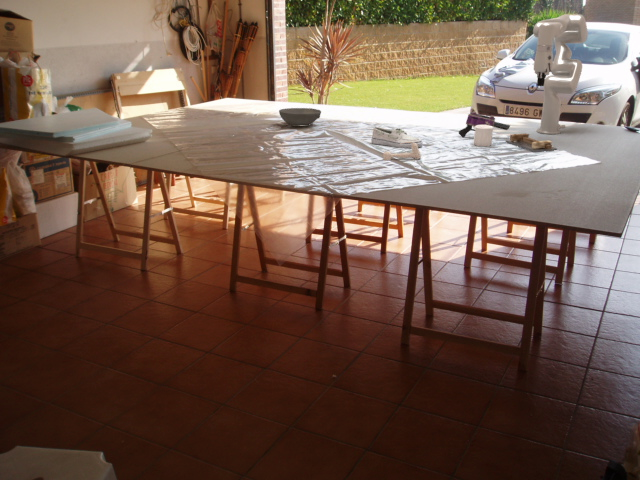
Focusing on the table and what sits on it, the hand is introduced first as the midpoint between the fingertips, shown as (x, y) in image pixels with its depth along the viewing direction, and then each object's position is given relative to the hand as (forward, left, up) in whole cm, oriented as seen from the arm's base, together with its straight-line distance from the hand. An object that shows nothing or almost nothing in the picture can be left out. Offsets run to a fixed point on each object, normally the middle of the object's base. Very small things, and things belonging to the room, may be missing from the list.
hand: (540, 85), depth 306 cm
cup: (+30, -2, -29) cm, 42 cm away
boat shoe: (+73, -17, -30) cm, 81 cm away
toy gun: (+20, -18, -29) cm, 40 cm away
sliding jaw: (+9, +20, -28) cm, 35 cm away
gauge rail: (+9, +10, -29) cm, 32 cm away
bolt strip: (+9, +10, -29) cm, 32 cm away
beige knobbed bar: (+82, +13, -30) cm, 88 cm away
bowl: (+107, -91, -29) cm, 144 cm away
